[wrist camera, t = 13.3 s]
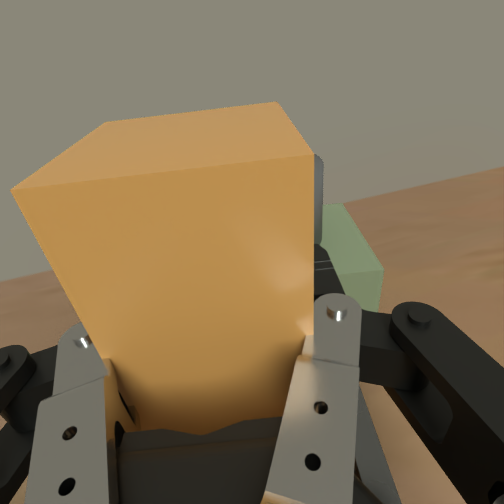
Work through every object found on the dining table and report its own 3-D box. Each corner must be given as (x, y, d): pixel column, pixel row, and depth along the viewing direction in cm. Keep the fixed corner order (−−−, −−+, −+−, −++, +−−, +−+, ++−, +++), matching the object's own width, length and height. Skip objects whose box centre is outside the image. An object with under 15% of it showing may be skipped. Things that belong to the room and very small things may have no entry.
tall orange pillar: (182, 507, 13) (9, 189, 5) (194, 389, 17) (105, 122, 10) (312, 493, 13) (314, 154, 5) (292, 378, 17) (276, 101, 10)
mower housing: (120, 385, 18) (37, 230, 13) (148, 298, 24) (99, 166, 19) (372, 358, 18) (399, 189, 13) (337, 277, 24) (345, 138, 19)
